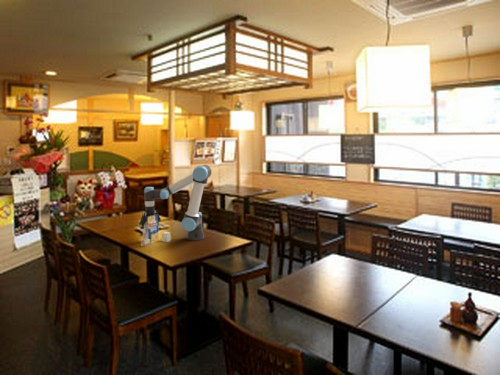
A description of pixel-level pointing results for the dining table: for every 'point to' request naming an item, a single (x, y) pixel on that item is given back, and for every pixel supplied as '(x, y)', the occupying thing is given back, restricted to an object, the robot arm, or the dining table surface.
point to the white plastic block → (166, 236)
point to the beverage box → (151, 228)
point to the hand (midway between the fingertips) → (150, 230)
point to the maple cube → (145, 242)
